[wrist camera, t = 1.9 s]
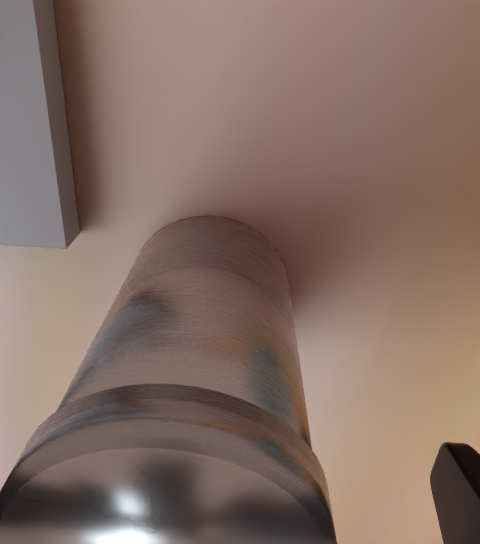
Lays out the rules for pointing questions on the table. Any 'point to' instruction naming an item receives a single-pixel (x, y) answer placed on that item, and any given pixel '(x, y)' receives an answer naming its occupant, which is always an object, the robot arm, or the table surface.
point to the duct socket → (33, 131)
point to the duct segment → (181, 410)
